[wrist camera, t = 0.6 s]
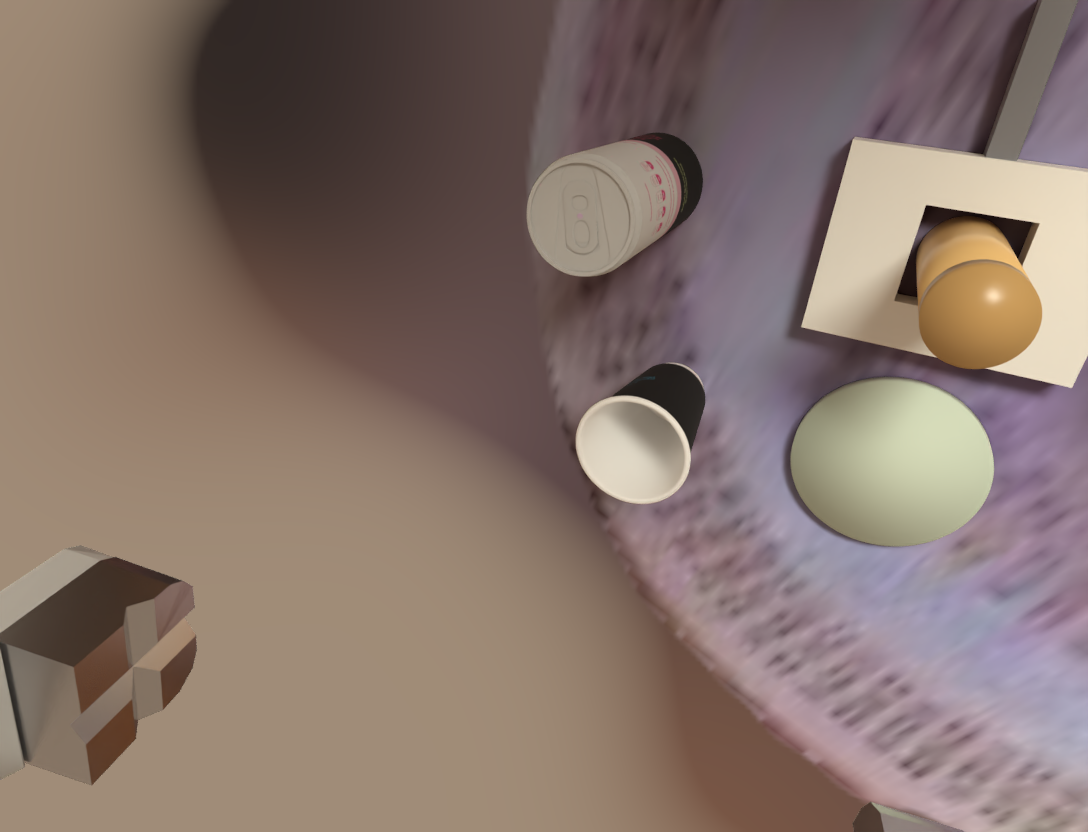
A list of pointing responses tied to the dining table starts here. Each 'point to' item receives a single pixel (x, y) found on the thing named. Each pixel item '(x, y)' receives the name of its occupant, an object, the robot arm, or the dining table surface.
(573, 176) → the beverage can
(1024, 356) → the socket block
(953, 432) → the mat
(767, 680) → the dining table surface
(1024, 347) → the plug
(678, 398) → the dixie cup
